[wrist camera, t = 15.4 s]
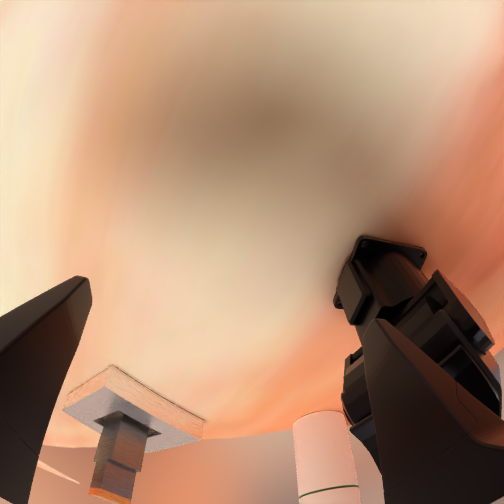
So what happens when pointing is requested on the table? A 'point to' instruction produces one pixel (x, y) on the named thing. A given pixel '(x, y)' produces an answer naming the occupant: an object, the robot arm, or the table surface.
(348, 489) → the cylindrical container
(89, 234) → the table surface
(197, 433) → the silver square socket base
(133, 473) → the grey orange-tipped tall block
